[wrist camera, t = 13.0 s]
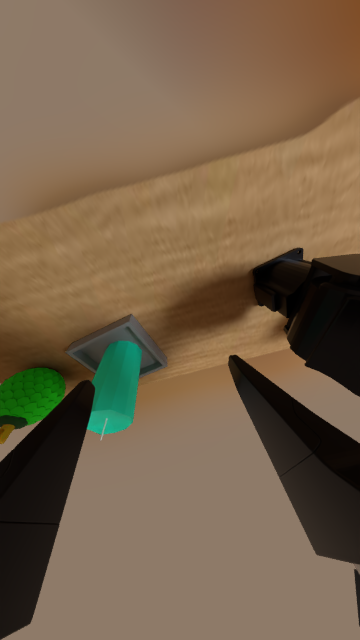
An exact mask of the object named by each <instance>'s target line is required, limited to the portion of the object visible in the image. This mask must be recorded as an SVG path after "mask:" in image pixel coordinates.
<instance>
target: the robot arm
mask: <svg viewBox="0 0 360 640" xmlns="http://www.w3.org/2000/svg"><path fill="white" fill-rule="evenodd" d="M298 251H299V252H298ZM257 270H258V272H257ZM256 272H257V273H256ZM253 275H254V282H255V284H254V290H255V296H256V299H257V301H258V305H259V306H264V305H265V306H266V307H267V308H269V309H270V310H271V311H273V312H276V311H278V312H279V313H281V314H282V315H283V316H285V317H286V318H289V320H288V322H287V325H285V327H284V331H285V333H286V334H287V340H288V342H289V344H290V345H291V346H290V349H291V350H292V351H294V353H295V354H296V355H298V356H299V357H301V358H302V359H304V360H305V361H306V363H305V366H306V367H309V368H311V369H314V370H317V371H319V372H321V373H323V374H325V375H327V376H329V377H331V378H332V379H334V380H335V381H337V382H338V383H340V384H341V385H343V386H344V387H345V388H347V389H348V390H350V391H351V392H353V393H354V394H355V395H357V396H359V397H360V254H349V255H341V256H332V257H323V258H314V259H312V262H309V261H305V260H303V248H296V249H294V250H292V251H290V252H288V253H286V254H284V255H281V256H279V257H277V258H275V259H273V260H271V261H269V262H267V263H265V264H263V265H260V266H258V267H256V268H255V269H254V270H253ZM261 303H262V304H261ZM228 366H229V369H230V372H231V374H232V377H233V380H234V383H235V386H236V388H237V391H238V393H239V395H240V397H241V399H242V401H243V403H244V405H245V407H246V409H247V412H248V414H249V416H250V418H251V420H252V422H253V424H254V426H255V428H256V430H257V432H258V434H259V436H260V439H261V441H262V443H263V445H264V447H265V449H266V451H267V453H268V455H269V457H270V459H271V461H272V463H273V466H274V468H275V470H276V472H277V474H278V476H279V478H280V480H281V482H282V484H283V487H284V489H285V491H286V493H287V495H288V497H289V499H290V501H291V503H292V505H293V507H294V509H295V512H296V514H297V516H298V517H299V520H300V522H301V524H302V526H303V528H304V530H305V532H306V534H307V536H308V538H309V541H310V543H311V545H312V547H313V549H314V551H315V553H316V554H317V555H319V556H324V557H328V558H332V559H336V560H341V561H345V562H349V563H353V564H354V565H355V567H356V569H355V570H354V573H355V584H356V595H357V605H358V617H359V626H360V443H358V442H357V441H355V440H354V439H352V438H351V437H349V436H348V435H346V434H344V433H343V432H342V431H340V430H339V429H337V428H335V427H334V426H332V425H331V424H330V423H328V422H326V421H325V420H323V419H322V418H320V417H319V416H318V415H316V414H315V413H313V412H312V411H310V410H309V409H308V408H306V407H305V406H303V405H302V404H301V403H299V402H298V401H297V400H295V399H294V398H293V397H291V396H290V395H289V394H287V393H286V392H285V391H283V390H282V389H281V388H279V387H278V386H277V385H275V384H274V383H272V382H271V381H270V380H269V379H268V378H266V377H265V376H264V375H262V374H261V373H260V372H258V371H257V370H256V369H254V368H253V367H252V366H250V365H249V364H248V363H246V362H245V361H244V360H242V359H241V358H240V357H238V356H237V355H230V356H229V362H228ZM94 395H95V386H94V385H93V384H92V383H91V381H90V380H83V381H81V382H80V383H79V384H78V385H77V386H76V387H75V388H74V389H73V390H72V391H71V392H70V393H69V394H68V395H67V396H66V397H65V398H64V399H63V400H62V401H61V402H60V403H59V404H58V405H57V406H56V407H55V408H54V409H53V410H52V411H51V412H50V413H49V414H48V415H47V416H46V417H45V418H44V419H43V420H42V421H41V422H40V423H39V424H38V425H37V426H36V427H35V428H34V429H33V430H32V431H31V432H30V433H29V434H28V435H27V436H26V437H25V438H24V439H23V440H22V441H21V442H20V443H19V444H18V445H17V446H16V447H15V448H14V449H13V450H12V451H11V452H10V453H9V454H8V455H7V456H6V457H5V458H4V459H3V460H2V461H1V462H0V640H1V639H3V638H5V637H6V636H8V635H10V634H12V633H14V632H16V631H18V630H20V629H21V628H23V627H25V626H27V625H29V624H30V623H31V620H32V618H33V614H34V611H35V608H36V604H37V601H38V597H39V594H40V591H41V587H42V583H43V580H44V576H45V573H46V570H47V566H48V563H49V559H50V556H51V552H52V549H53V545H54V542H55V538H56V535H57V531H58V528H59V523H60V520H61V517H62V514H63V510H64V506H65V503H66V499H67V496H68V493H69V489H70V485H71V482H72V479H73V475H74V472H75V468H76V464H77V461H78V458H79V454H80V451H81V447H82V444H83V440H84V437H85V434H86V430H87V427H88V423H89V420H90V416H91V411H92V405H93V400H94Z"/></svg>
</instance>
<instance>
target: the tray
mask: <svg viewBox="0 0 360 640" xmlns="http://www.w3.org/2000/svg"><path fill="white" fill-rule="evenodd" d="M116 341H130V342H132V343H134V344H136V345H138V346H139V348H140V349H141V350H142V358H141V365H140V373H139V378H141V377H143V376H145V375H148V374H150V373H153V372H155V371H158V370H160V369H162V368H165V367H167V357H166V356H165V355H164V354H163V352H162V351H161V350H160V349H159V347H158V346H157V345H156V344H155V342H154V341H153V340H152V339H151V337H150V336H149V335H148V334H147V332H146V331H145V330H144V329H143V327H142V326H141V325H140V324H139V322H138V321H137V320H136V319H135V317H134V316H133V315H132V314H130V315H128V316H126V317H124V318H122V319H120V320H118V321H116V322H114V323H112V324H110V325H108V326H106V327H104V328H102V329H100V330H98V331H96V332H94V333H92V334H90V335H88V336H86V337H84V338H82V339H80V340H78V341H76V342H74V343H72V344H71V345H70V347H69V348H68V349H67V351H66V352H65V353H67V354H68V355H69V356H71V357H72V358H74V359H75V360H77V361H78V362H79V363H81V364H82V365H84V366H85V367H86V368H88V369H89V370H91V371H92V372H94V373H95V374H96V371H97V369H98V367H99V364H100V362H101V360H102V357H103V355H104V353H105V350H106V349H107V347H108V346H109V345H110V344H111V343H114V342H116Z"/></svg>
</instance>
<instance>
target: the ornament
mask: <svg viewBox="0 0 360 640" xmlns="http://www.w3.org/2000/svg"><path fill="white" fill-rule="evenodd" d="M65 385H66V384H65V380H64V378H63V377H62V376H61V375H60V373H58V372H56V371H55V370H53V369H48V368H39V367H38V368H31V369H27V370H25V371H22V372H20V373H19V372H18V373H16V374H15V375H14V376H12V377H10V378H9V379H6V380H5V381H4V382H3V384H1V385H0V427H1V428H0V444H3V443H4V442H5V441H6V439H7V438H8V436H9V435H10V433H11V432H12V431H13V430H14V429H20V428H22V427H25V426H27V425H31V424H34V423H36V422H37V421H40V420H42V419H44V418H45V417H46V416H47V415H48V414H49V413H50V412H51V411H52V410H53V409H54V408H55V407H56V406H57V405H58V404H59V403H60V402H61V401H62V399H63V397H64V394H65V389H66V388H65Z"/></svg>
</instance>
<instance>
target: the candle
mask: <svg viewBox="0 0 360 640" xmlns="http://www.w3.org/2000/svg"><path fill="white" fill-rule="evenodd" d="M141 358H142V350H141V349H140V348H139V346H138V345H136V344H134V343H132V342H130V341H116V342H114V343H111V344H110V345H109V346H108V347H107V349H106V350H105V353H104V355H103V357H102V360H101V362H100V364H99V367H98V369H97V371H96V374H95V376H94V378H93V380H92V384H93V385H94V386H95V395H94V400H93V405H92V411H91V416H90V420H89V423H88V427H87V429H88V430H91V431H93V432H96V433H98V434H101V439H100V440H102V436H103V434H109V433H115V432H118V431H121V430H124V429H126V428H127V427H128V426H129V425H130V424H132V422H133V418H134V410H135V403H136V395H137V387H138V380H139V373H140V365H141Z"/></svg>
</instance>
